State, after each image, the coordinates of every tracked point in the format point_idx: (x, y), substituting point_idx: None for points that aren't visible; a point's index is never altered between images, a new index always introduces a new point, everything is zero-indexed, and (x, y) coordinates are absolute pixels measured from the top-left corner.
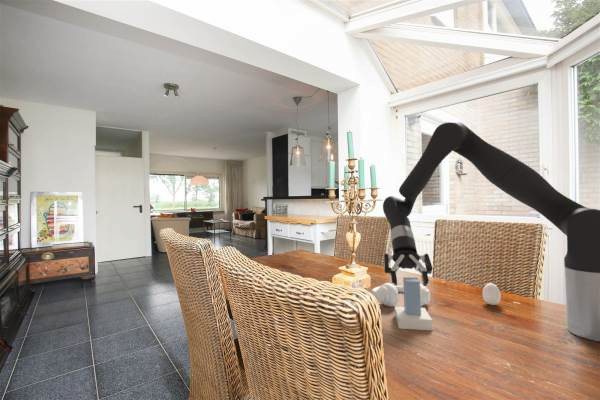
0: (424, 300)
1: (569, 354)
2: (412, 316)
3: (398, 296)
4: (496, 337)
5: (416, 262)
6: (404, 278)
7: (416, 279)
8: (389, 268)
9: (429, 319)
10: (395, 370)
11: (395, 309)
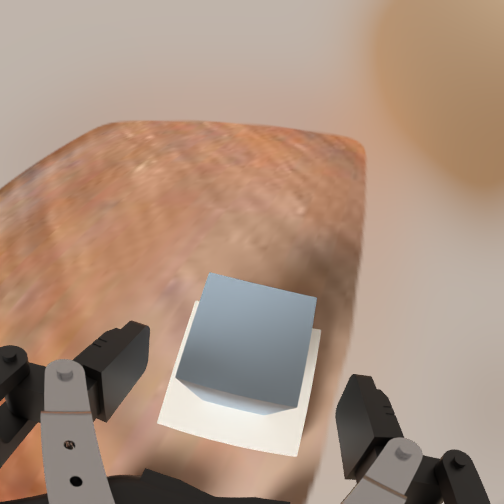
0: None
1: (22, 189)
2: None
3: None
4: (61, 253)
5: (83, 447)
6: (297, 375)
7: (205, 329)
8: (428, 474)
9: None
10: (359, 174)
11: (302, 427)
